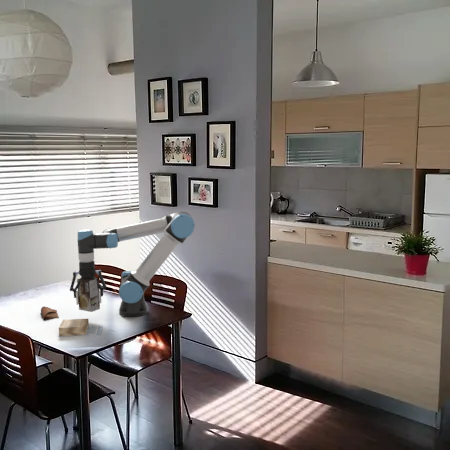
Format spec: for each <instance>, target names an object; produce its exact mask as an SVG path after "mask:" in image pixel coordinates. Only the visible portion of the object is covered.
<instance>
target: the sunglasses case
mask: <svg viewBox="0 0 450 450" xmlns="http://www.w3.org/2000/svg"><path fill="white" fill-rule="evenodd" d="M40 313H41V317H42V321H49V320H54V319H55V320H56V319H60V316H59V314H58V310H57V309H55V308H53V309H52V308H50V307H48V306H42V307H41V308H40Z"/></svg>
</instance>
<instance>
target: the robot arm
mask: <svg viewBox="0 0 450 450" xmlns="http://www.w3.org/2000/svg"><path fill="white" fill-rule="evenodd" d="M195 226H196V225H195V220H194V218H193V217H192V216H191V214H190V213H188V212H186V211H177V212H174V213H171V214H167V215H164V217H162V218H158V219H157V218H156V219H151V220H147V221H143V222H138V223H134V224H133V223H132V224H129V225H123V226H119V227H114V228H107V229H105V230H103V231H102V233H94V232H93V231H94V230H92V229H80V230H78V232H77V250H78V251H77V252H78V254H77V255H78V261H79V262H78V267H79V268H78V269H79V270H78V271H76V270H74V271H73V272H72V280H71V283H70V287H69V291H70V292H72V293H73V298H74V299H76V300H75V301H76V305H77V306H79V300H78V287H79V285H80V281H81V280H83V279H95V278H97V277H96V275H98V279H99V280H100V282H101V283H100V282H99V281H98V282H97V286H98V288H99V303H100V304H101V303H102V297H103V296H104V290H106V289H107V285H106V282H105V280H104V276H103V274H102V270H101V269H99V270H98V269H97V270H96V267H95V266H96V265H95V264H96V263H95V249H96V250H97V249H98V250H99V249H115V248H117V247H118V245H119V243H121V242H124V241H130V240H133V239H140V238H144V237H147V236H152V235H153V236H154V235H158V234H163V233H164V234H163V235H162V237H161V238H160V239H159V240H158V242H157V243H156V244H155V246H154V247H153V248H152V250H151V251H150V252H149V254H148V255H147V256H146V257H145V258H144V260H143V261H142V262H141V264H140V265H139V266H138V268H137V269H136V270H126V271H125V270H124V271H123V272H121V284H120V286H119V288H118V294H119V298H120V299H121V302H120V306H119V310H118V314H119V315H120V316H122V317H127V318H135V317H136V318H137V317H141V316H145V315H147V314H148V310H149V309H148V305H147V303H146V300H145V292H146V290H147V289H148V288H149V287H150V285H151V284H150V281H151V279H152V278H153V277H154V276H155V274H156V273H157V272H158V270H159V269H160V268H161V267H162V265H163V264H164V263H165V262H166V260H167V259H168V258H169V256H170V255H171V253H172V252H173V251H174V250H175V249H176V248H177V246H178V245H181V244H183V243H184V242H185V241H186V240H187V238H189V237H190V236H191V235H192V234H193V233H194V231H195ZM78 275H79V276H80V278H79V279H80V280H79V282H78V284H76V285H75V282H76V280H77V276H78ZM74 286H75V287H74Z"/></svg>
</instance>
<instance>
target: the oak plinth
mask: <svg viewBox="0 0 450 450" xmlns="http://www.w3.org/2000/svg"><path fill="white" fill-rule="evenodd" d="M89 326H90V324H89V318H71V319H68V318H67V319H63V320H61V323H60V325H59V327H58V333H59V336H71V337H75V336H74V335H86V332H87V330H88V327H89Z"/></svg>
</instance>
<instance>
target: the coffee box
mask: <svg viewBox="0 0 450 450" xmlns="http://www.w3.org/2000/svg"><path fill="white" fill-rule="evenodd" d="M79 280H80V278H76V282H77V284H78V282H79ZM97 282H99V277H96V278H95V279H83V280H81V281H80V285H79V287H78V288H77V291H78V300H79V304H78V310H80V311H84V312H89V313H93V312H95V311H98V310H101V305H100V304H101V303H99V290H100V289H99V288H98V286H97ZM77 284H76V285H77Z"/></svg>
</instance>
